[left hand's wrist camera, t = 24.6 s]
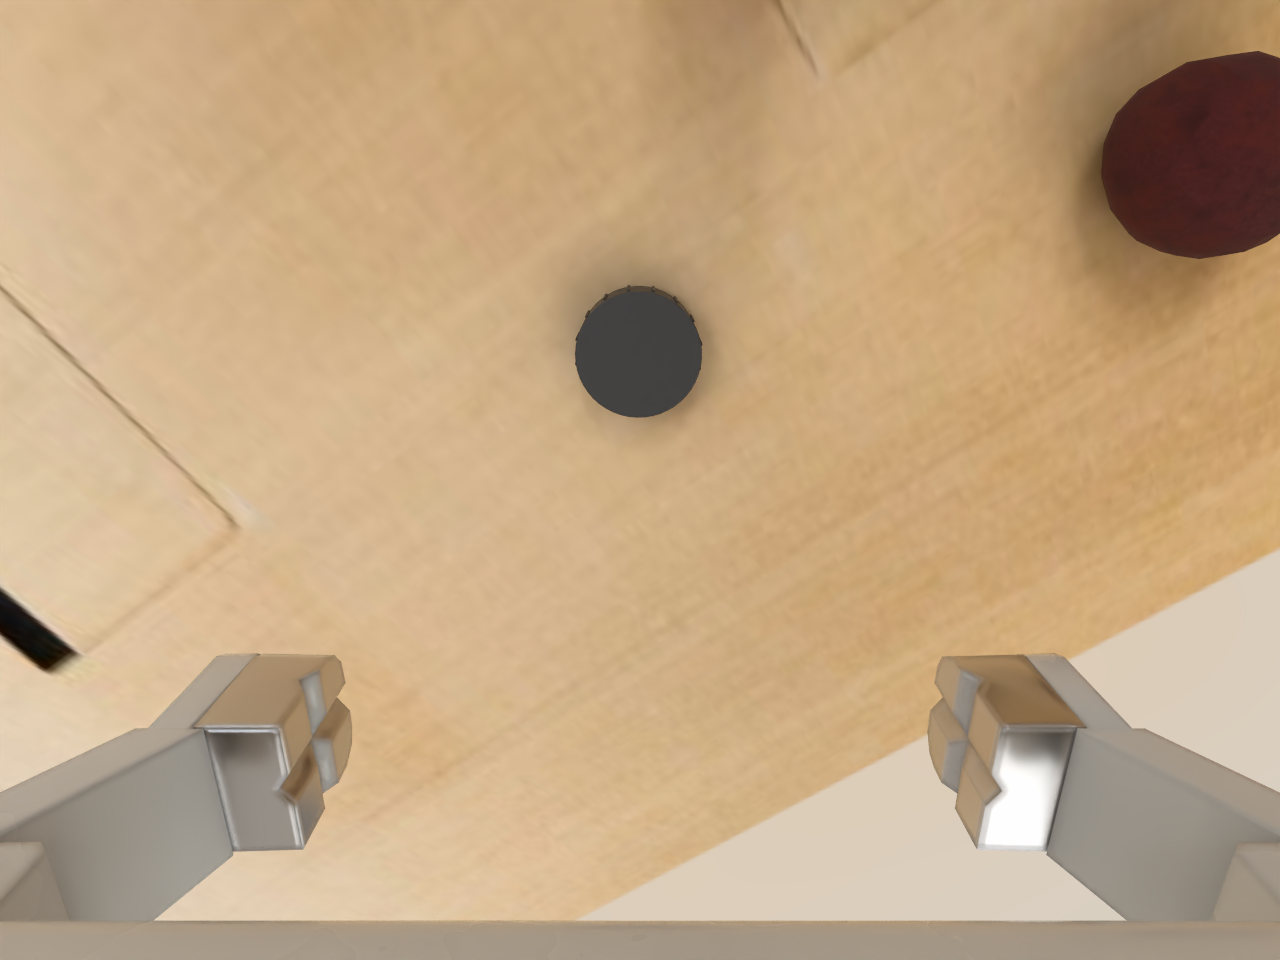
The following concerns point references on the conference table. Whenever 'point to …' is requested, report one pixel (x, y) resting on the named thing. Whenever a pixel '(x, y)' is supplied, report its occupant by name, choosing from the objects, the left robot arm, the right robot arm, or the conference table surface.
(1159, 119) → the potato
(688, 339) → the lid
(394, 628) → the conference table surface
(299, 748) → the left robot arm
